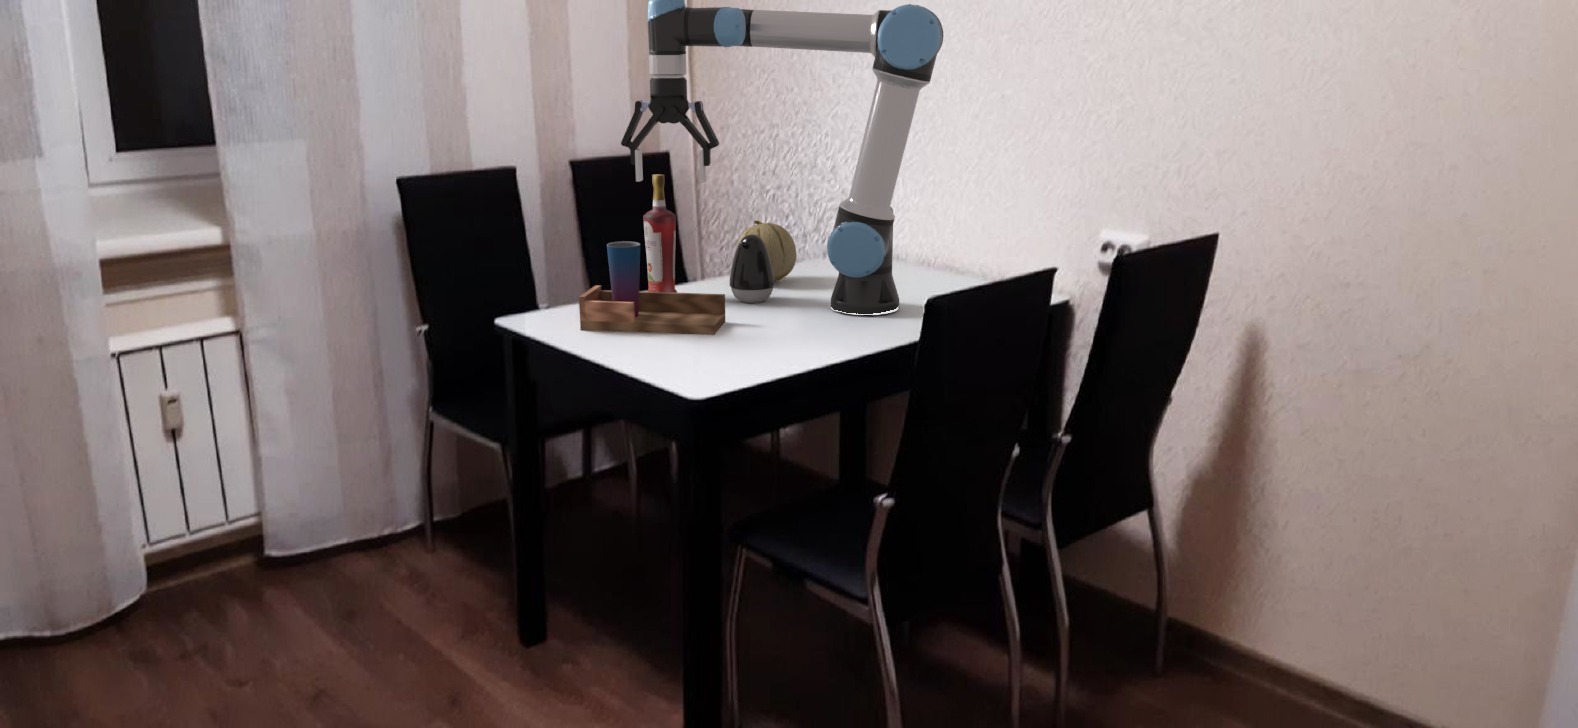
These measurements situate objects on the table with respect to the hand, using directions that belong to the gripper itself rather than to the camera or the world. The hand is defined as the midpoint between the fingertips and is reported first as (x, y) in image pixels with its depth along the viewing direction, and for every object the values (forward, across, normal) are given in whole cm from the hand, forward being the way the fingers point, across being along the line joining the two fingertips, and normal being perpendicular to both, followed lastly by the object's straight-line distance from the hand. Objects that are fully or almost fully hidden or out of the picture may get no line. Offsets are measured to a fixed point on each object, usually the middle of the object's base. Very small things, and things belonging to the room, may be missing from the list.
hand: (671, 181), depth 241 cm
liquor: (+29, +7, -16) cm, 34 cm away
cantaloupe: (+29, -14, -36) cm, 48 cm away
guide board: (+29, +2, +10) cm, 30 cm away
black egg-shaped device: (+29, -14, -16) cm, 36 cm away
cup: (+27, +8, +10) cm, 30 cm away
